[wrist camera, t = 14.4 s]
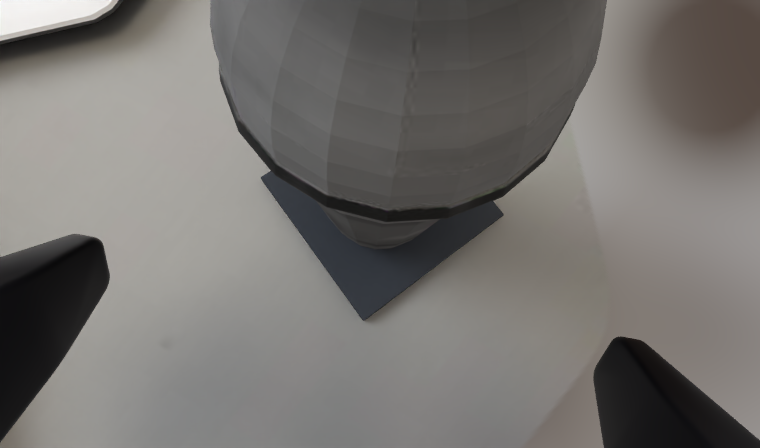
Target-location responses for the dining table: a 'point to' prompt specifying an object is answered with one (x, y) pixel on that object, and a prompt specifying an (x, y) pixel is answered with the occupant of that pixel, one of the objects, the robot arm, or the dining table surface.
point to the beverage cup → (403, 99)
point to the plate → (49, 16)
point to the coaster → (376, 266)
